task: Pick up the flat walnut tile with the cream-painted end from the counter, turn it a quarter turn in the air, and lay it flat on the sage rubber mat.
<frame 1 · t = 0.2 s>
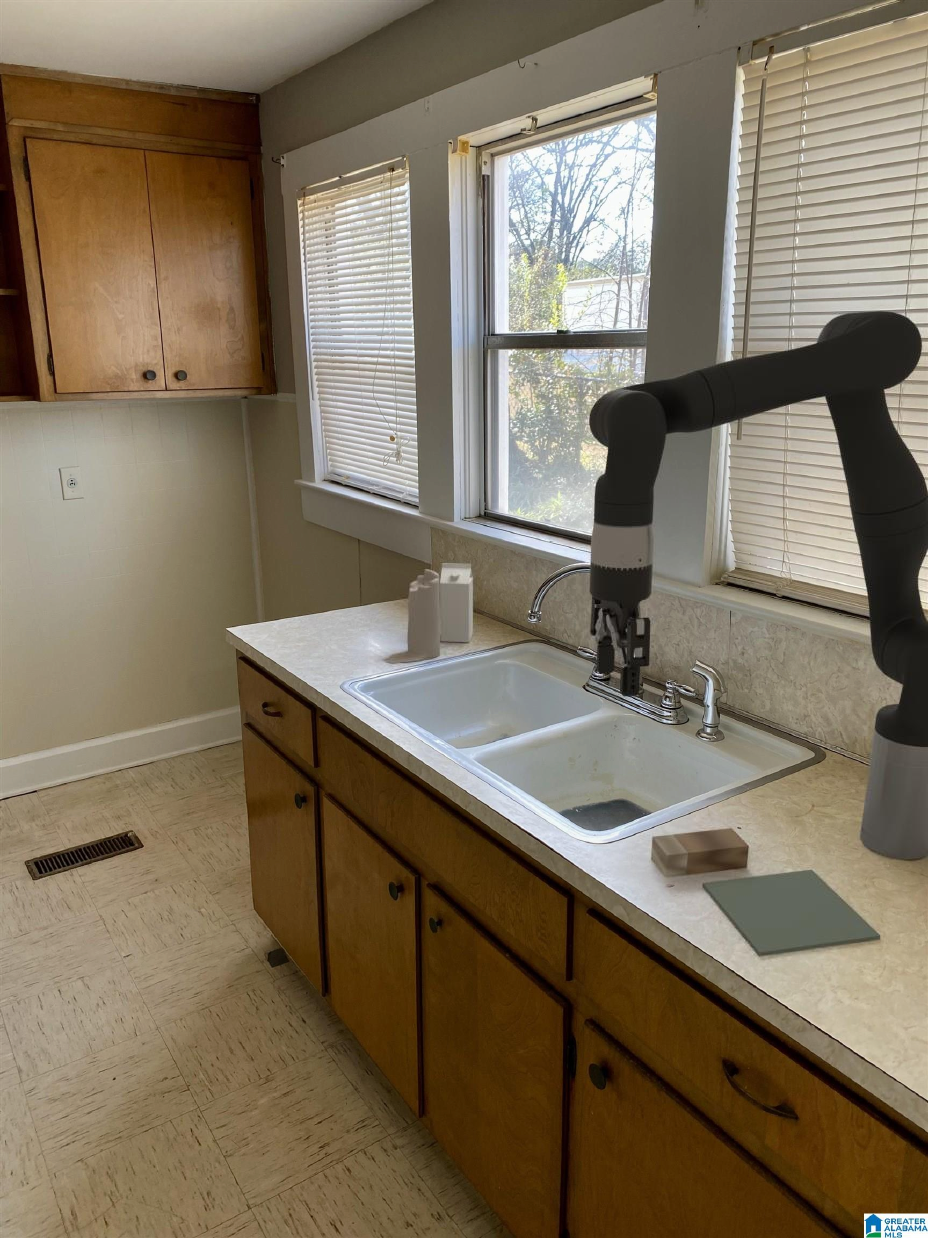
hand: (616, 683, 116), 28 cm above the worktop, tool pointing down, fingers open, 8 cm apart
sage mat: (787, 911, 117), on the worktop
candle: (412, 657, 214), on the worktop
milk carton: (456, 639, 228), on the worktop
walnut tile: (698, 863, 128), on the worktop
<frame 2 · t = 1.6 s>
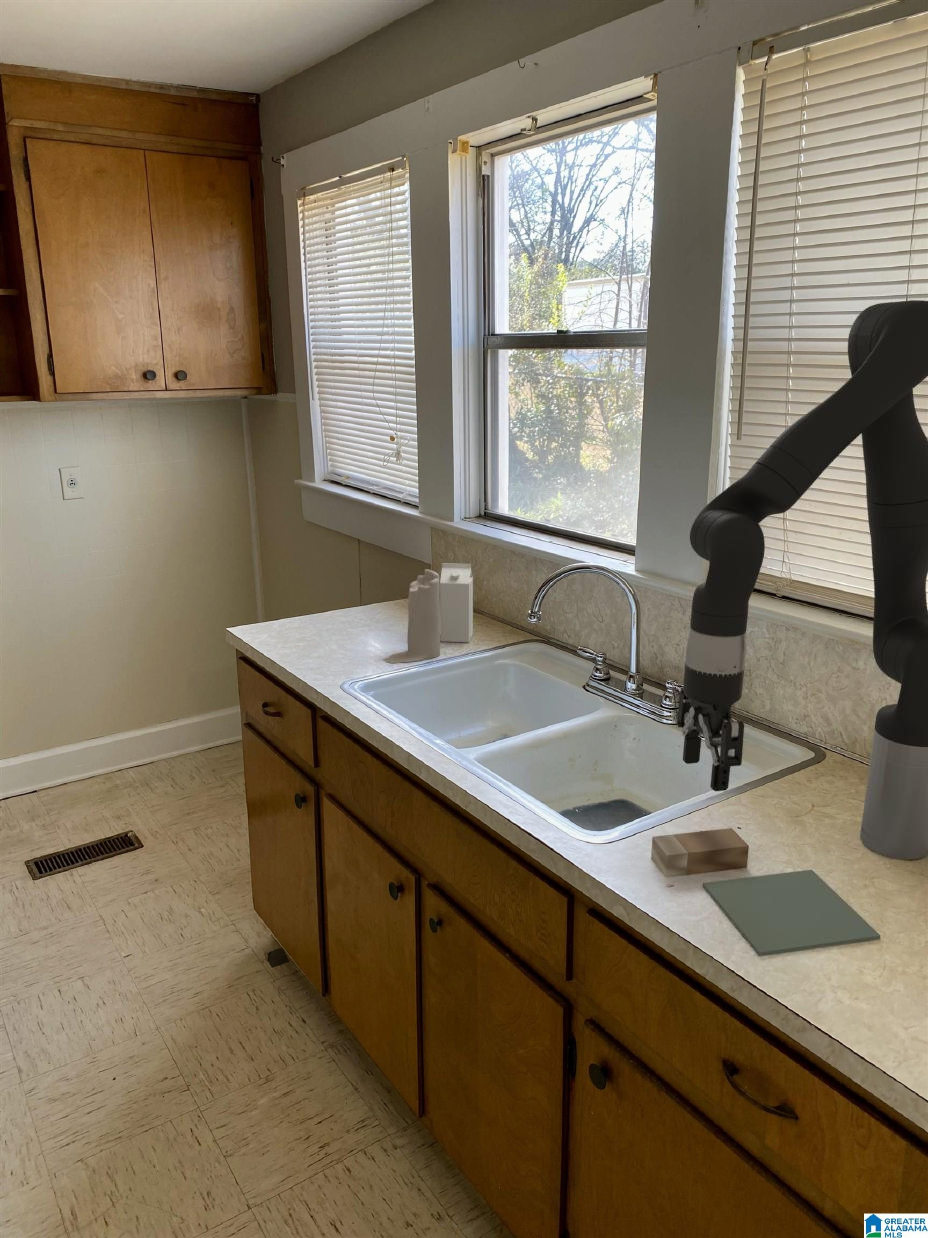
hand: (704, 775, 124), 13 cm above the worktop, tool pointing down, fingers open, 8 cm apart
nothing on the worktop moved.
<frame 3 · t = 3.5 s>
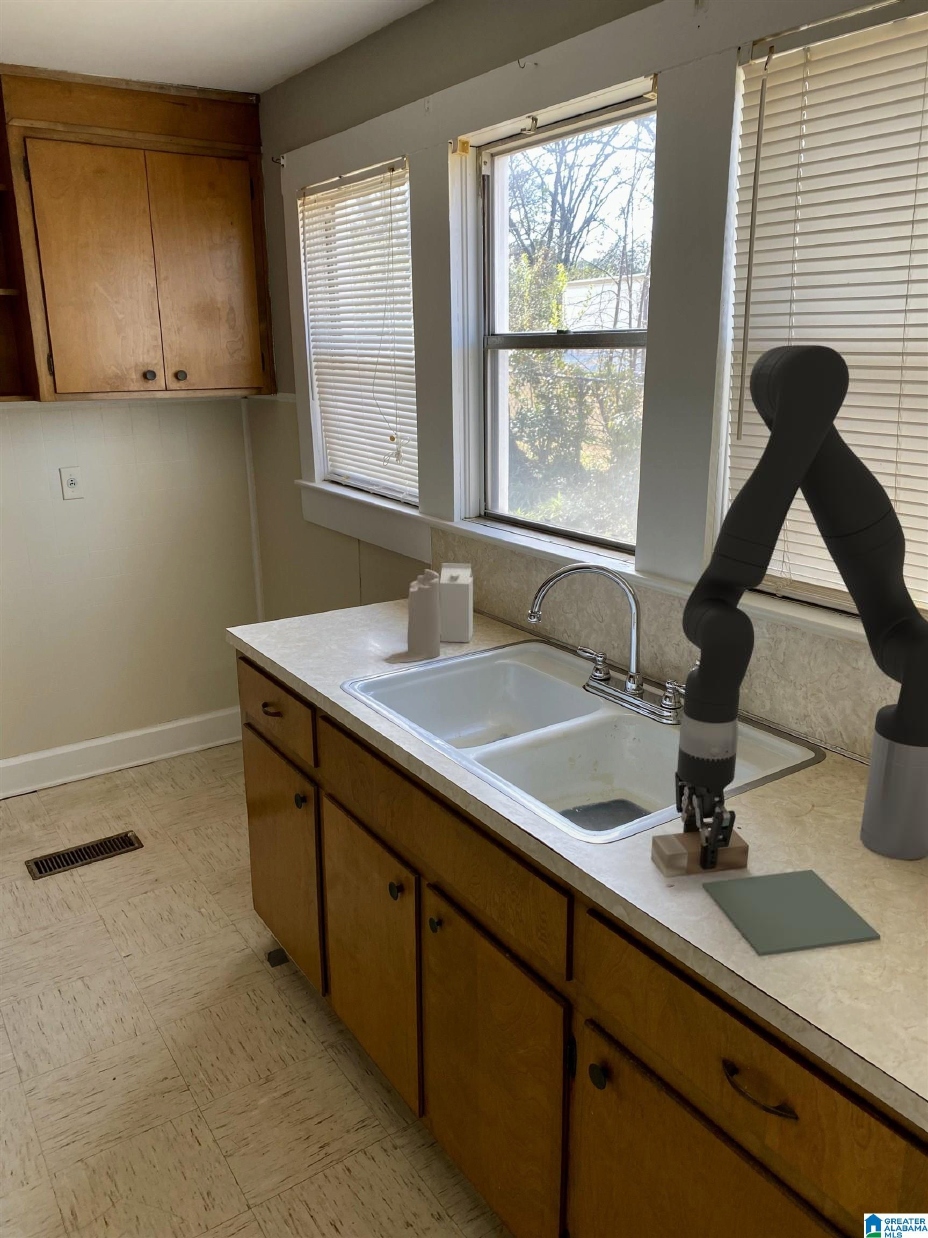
hand: (698, 856, 127), 1 cm above the worktop, tool pointing down, fingers closed on walnut tile, 5 cm apart
walnut tile: (698, 863, 128), on the worktop, touching gripper
everything else where it was.
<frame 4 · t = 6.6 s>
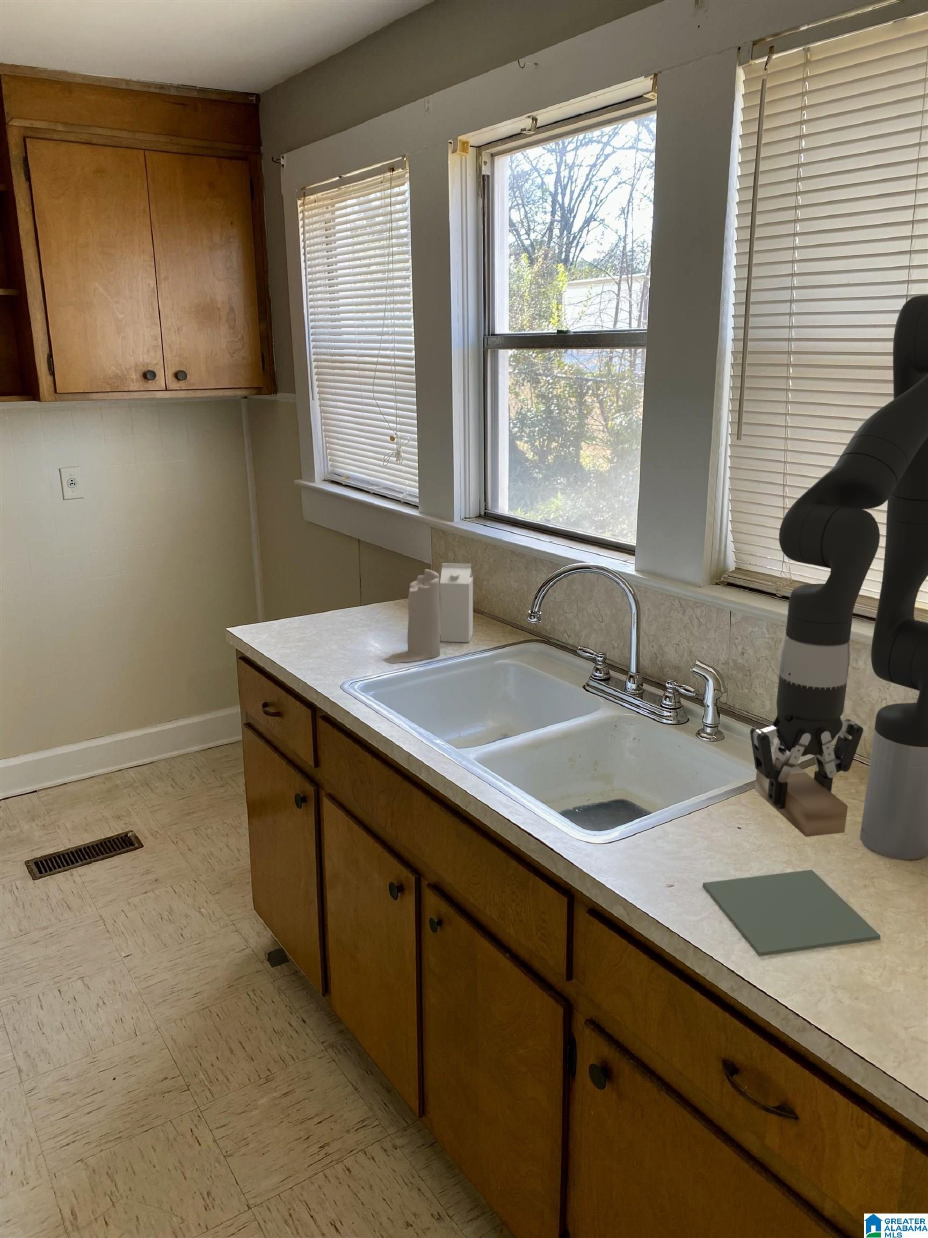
hand: (798, 803, 113), 15 cm above the worktop, tool pointing down, fingers closed on walnut tile, 5 cm apart
walnut tile: (797, 810, 113), point 14 cm above the worktop, touching gripper
everything else where it was.
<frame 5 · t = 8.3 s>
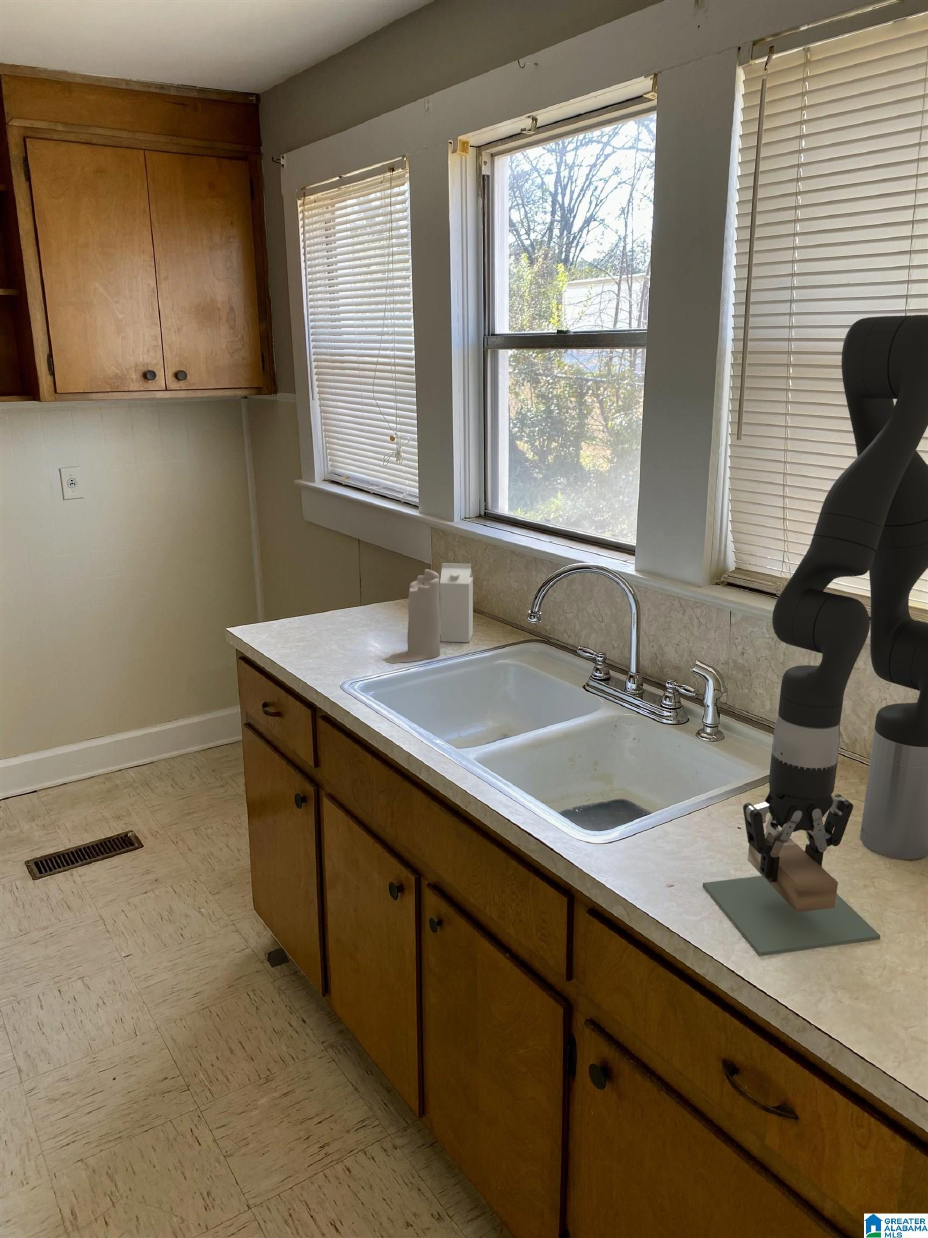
hand: (790, 876, 115), 5 cm above the worktop, tool pointing down, fingers closed on walnut tile, 5 cm apart
walnut tile: (789, 883, 115), point 4 cm above the worktop, touching gripper
everything else where it was.
when the fingers open (3 cm above the worktop, at t = 9.7 s): walnut tile drops 1 cm, resting on sage mat.
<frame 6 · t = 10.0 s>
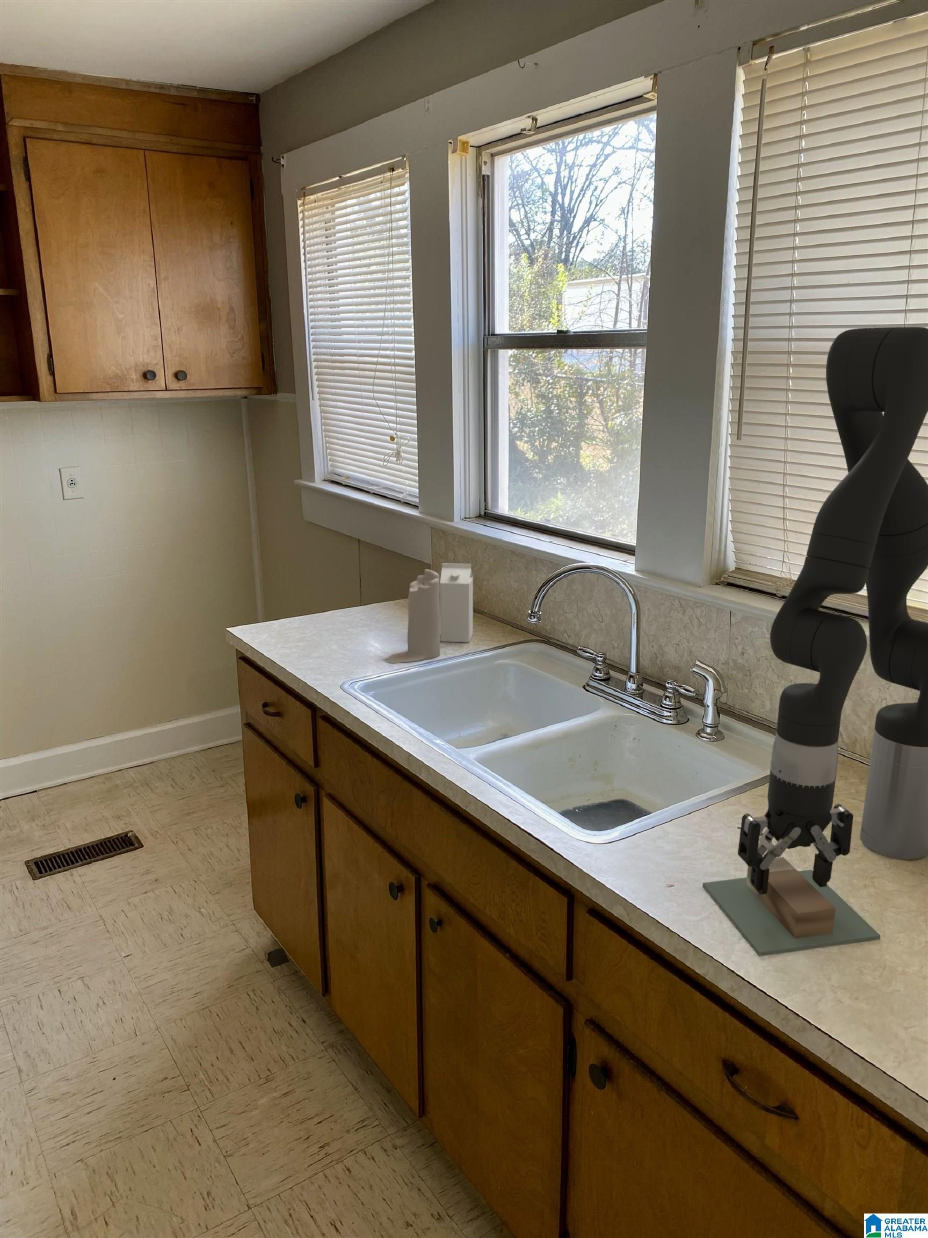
hand: (789, 887, 116), 4 cm above the worktop, tool pointing down, fingers open, 8 cm apart
walnut tile: (787, 907, 117), resting on sage mat
everything else where it was.
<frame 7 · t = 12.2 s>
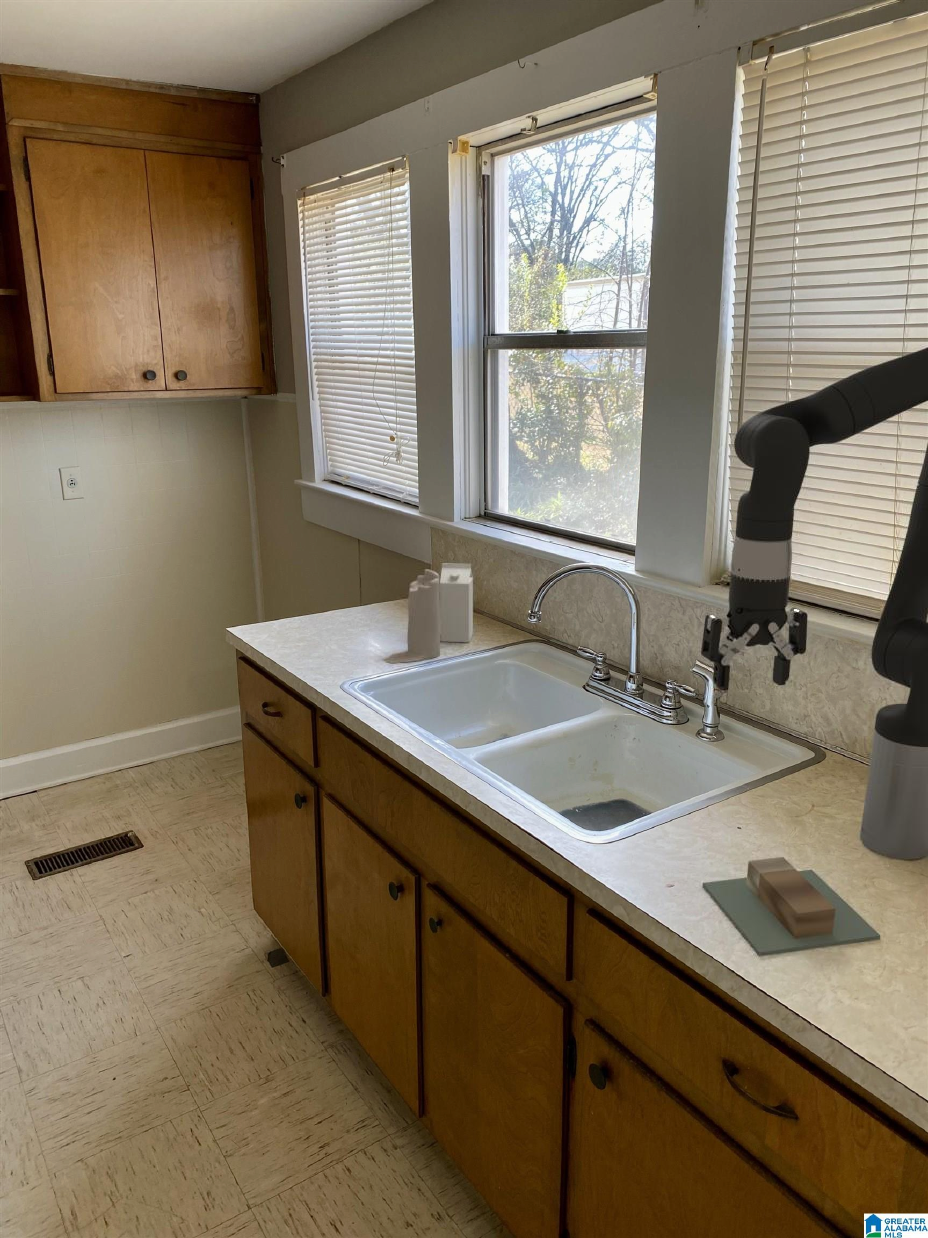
hand: (750, 686, 125), 25 cm above the worktop, tool pointing down, fingers open, 8 cm apart
nothing on the worktop moved.
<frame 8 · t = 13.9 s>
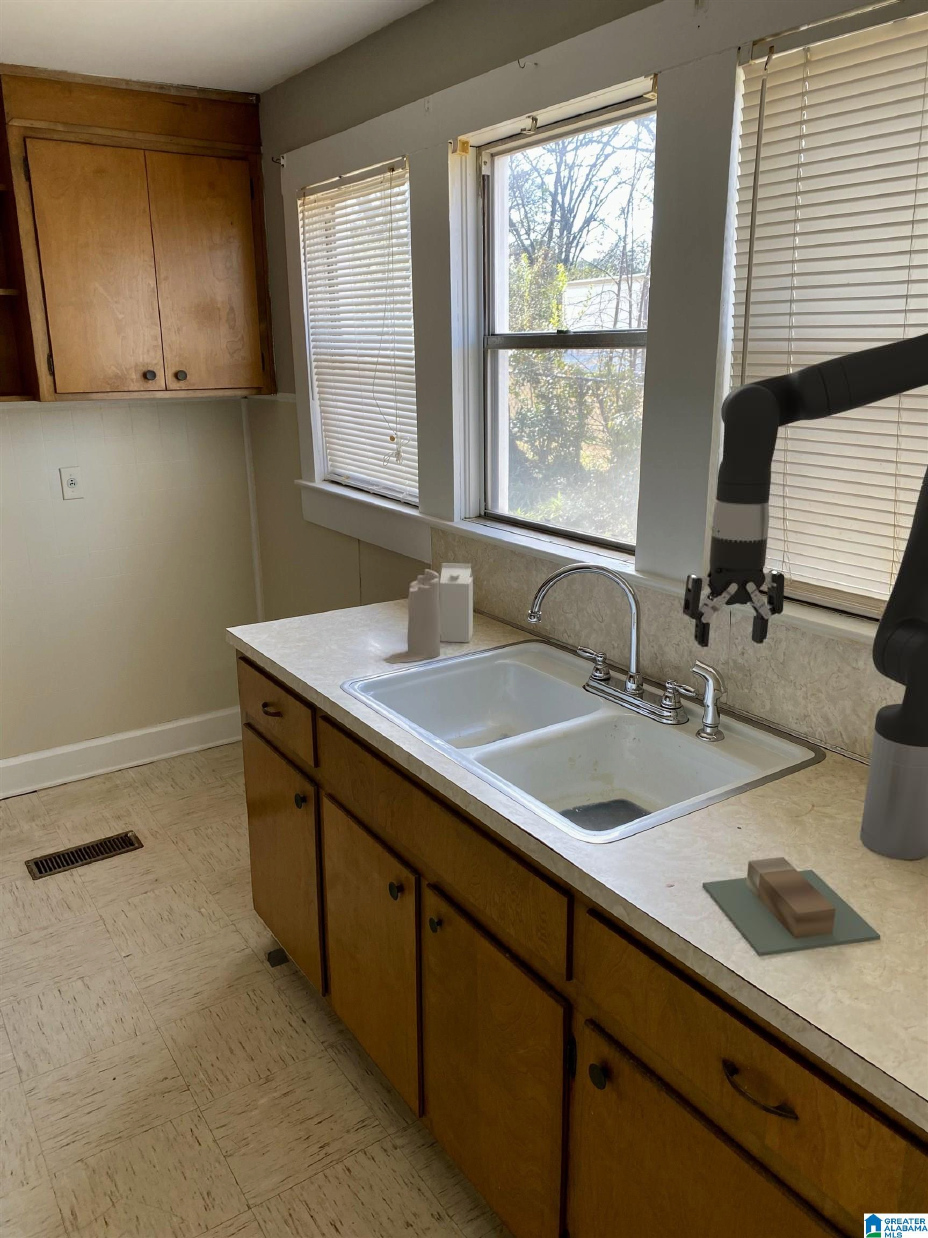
hand: (730, 644, 132), 28 cm above the worktop, tool pointing down, fingers open, 8 cm apart
nothing on the worktop moved.
at the end: walnut tile inside the target area on the sage mat (0.0 cm from its centre), point 0.5 cm above the sage mat's base; walnut tile tilted 0°; the gripper is holding nothing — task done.
